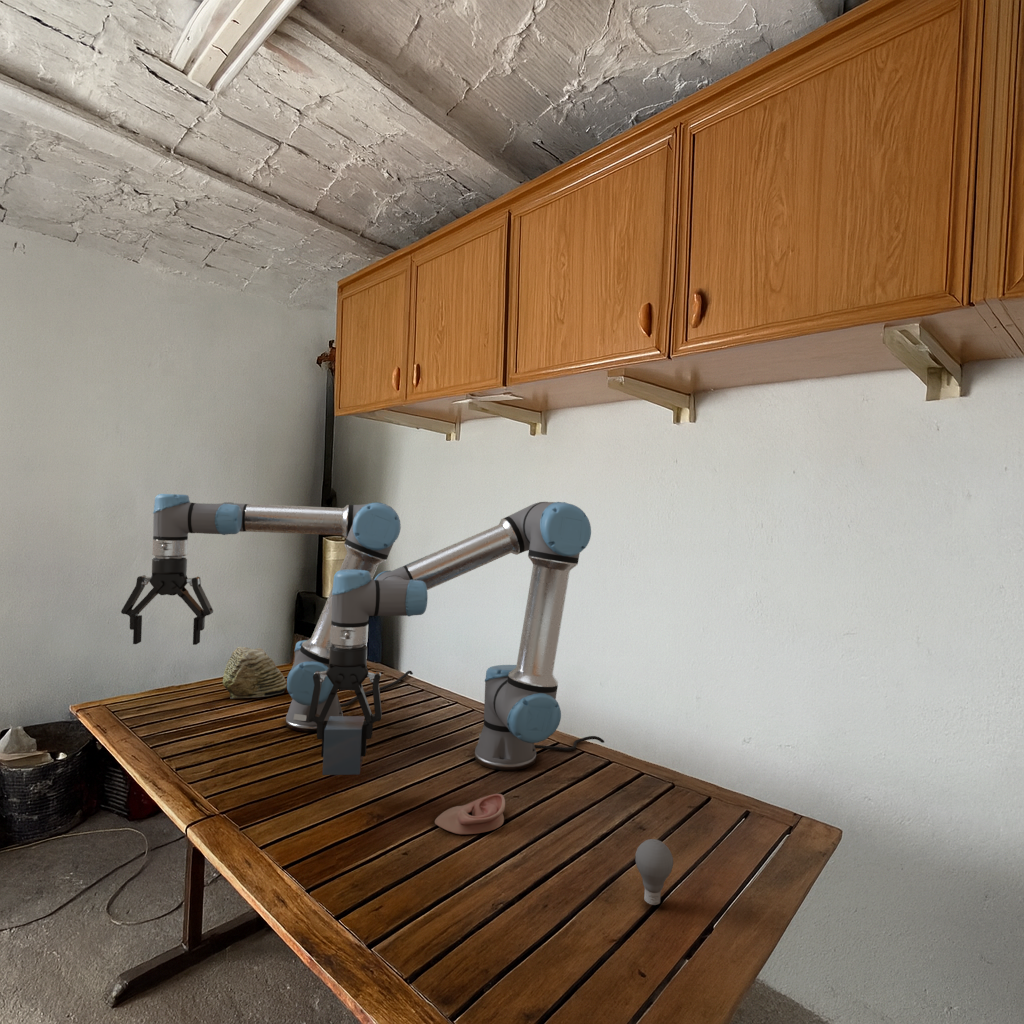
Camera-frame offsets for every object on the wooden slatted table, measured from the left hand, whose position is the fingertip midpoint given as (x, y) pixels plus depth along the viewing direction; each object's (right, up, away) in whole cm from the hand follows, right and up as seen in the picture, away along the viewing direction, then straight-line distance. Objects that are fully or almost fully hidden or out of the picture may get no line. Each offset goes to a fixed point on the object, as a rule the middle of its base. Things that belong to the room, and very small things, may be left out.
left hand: (166, 643), depth 155 cm
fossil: (+4, -25, +43) cm, 50 cm away
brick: (+50, -21, -24) cm, 59 cm away
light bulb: (+107, -31, -53) cm, 124 cm away
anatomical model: (+76, -30, -29) cm, 87 cm away
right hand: (+50, -18, -23) cm, 58 cm away
